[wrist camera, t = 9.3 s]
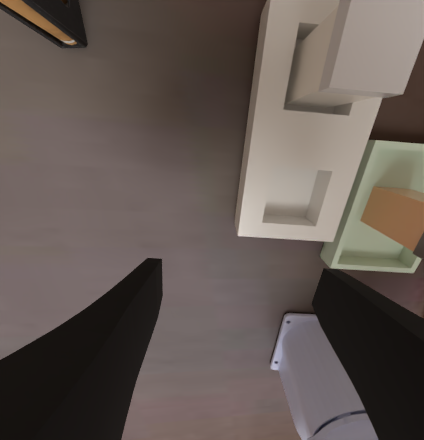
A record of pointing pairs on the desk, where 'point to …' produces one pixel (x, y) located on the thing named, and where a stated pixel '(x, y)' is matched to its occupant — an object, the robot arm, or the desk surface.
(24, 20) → the ammunition clip
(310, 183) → the block
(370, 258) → the parts tray
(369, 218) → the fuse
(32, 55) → the desk surface
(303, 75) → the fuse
